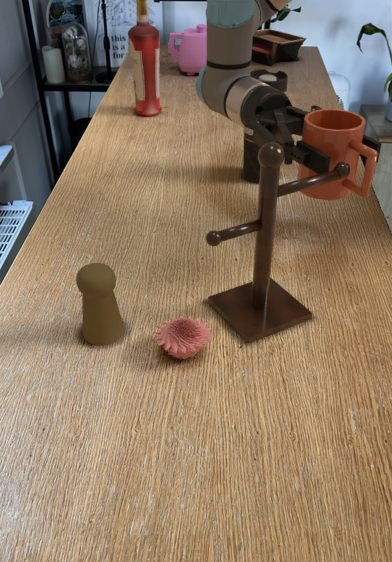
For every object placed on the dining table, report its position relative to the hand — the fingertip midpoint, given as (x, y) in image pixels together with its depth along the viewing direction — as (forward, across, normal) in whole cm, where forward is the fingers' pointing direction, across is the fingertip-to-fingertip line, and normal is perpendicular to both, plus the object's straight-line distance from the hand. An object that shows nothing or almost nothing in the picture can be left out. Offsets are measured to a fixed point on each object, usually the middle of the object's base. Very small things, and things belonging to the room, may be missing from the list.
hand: (352, 160), depth 80 cm
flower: (+4, +29, -20) cm, 35 cm away
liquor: (-80, -7, -20) cm, 83 cm away
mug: (-2, 0, -6) cm, 6 cm away
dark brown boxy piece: (-103, -60, -20) cm, 121 cm away
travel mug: (-36, -11, -20) cm, 43 cm away
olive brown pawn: (-6, +37, -20) cm, 42 cm away
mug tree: (+1, +13, -20) cm, 24 cm away
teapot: (-103, -36, -20) cm, 111 cm away
